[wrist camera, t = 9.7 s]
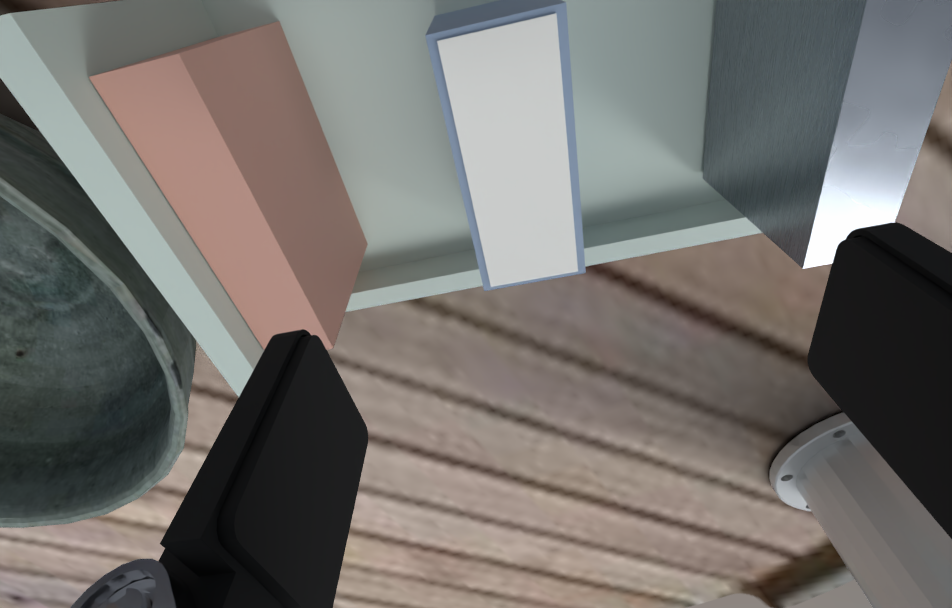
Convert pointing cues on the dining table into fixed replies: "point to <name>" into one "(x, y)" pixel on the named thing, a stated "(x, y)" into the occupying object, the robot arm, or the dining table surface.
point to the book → (512, 136)
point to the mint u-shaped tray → (342, 148)
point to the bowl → (78, 350)
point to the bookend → (821, 112)
